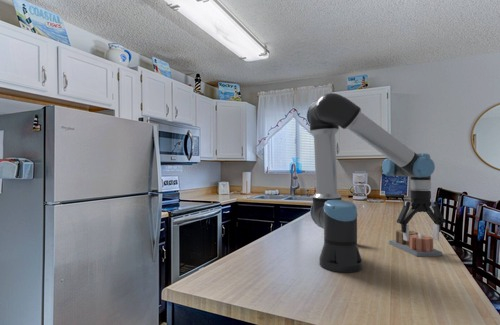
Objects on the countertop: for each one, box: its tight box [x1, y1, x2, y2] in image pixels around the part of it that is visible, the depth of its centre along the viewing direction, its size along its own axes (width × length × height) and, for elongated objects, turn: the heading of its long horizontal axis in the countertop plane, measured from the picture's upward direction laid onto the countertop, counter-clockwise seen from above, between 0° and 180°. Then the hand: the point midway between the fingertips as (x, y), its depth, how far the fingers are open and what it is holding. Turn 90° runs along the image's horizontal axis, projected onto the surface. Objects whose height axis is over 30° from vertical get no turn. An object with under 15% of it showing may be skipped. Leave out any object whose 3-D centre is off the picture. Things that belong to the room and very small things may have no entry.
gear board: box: [388, 229, 443, 257], centre depth 130 cm, size 20×11×8 cm, turn 5°
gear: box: [409, 234, 434, 252], centre depth 126 cm, size 9×9×5 cm
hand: (421, 240), depth 126 cm, fingers open, 13 cm apart
